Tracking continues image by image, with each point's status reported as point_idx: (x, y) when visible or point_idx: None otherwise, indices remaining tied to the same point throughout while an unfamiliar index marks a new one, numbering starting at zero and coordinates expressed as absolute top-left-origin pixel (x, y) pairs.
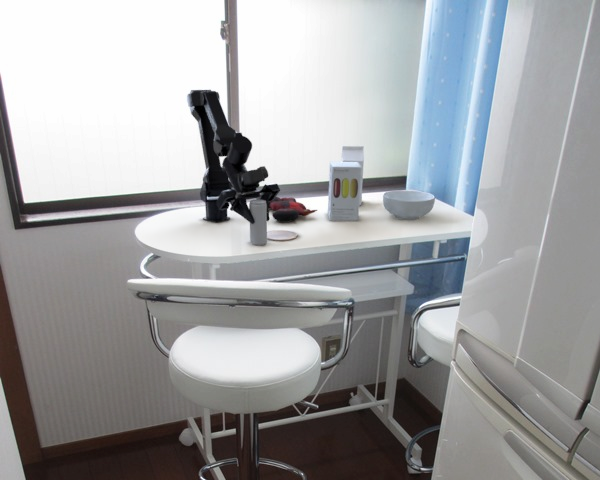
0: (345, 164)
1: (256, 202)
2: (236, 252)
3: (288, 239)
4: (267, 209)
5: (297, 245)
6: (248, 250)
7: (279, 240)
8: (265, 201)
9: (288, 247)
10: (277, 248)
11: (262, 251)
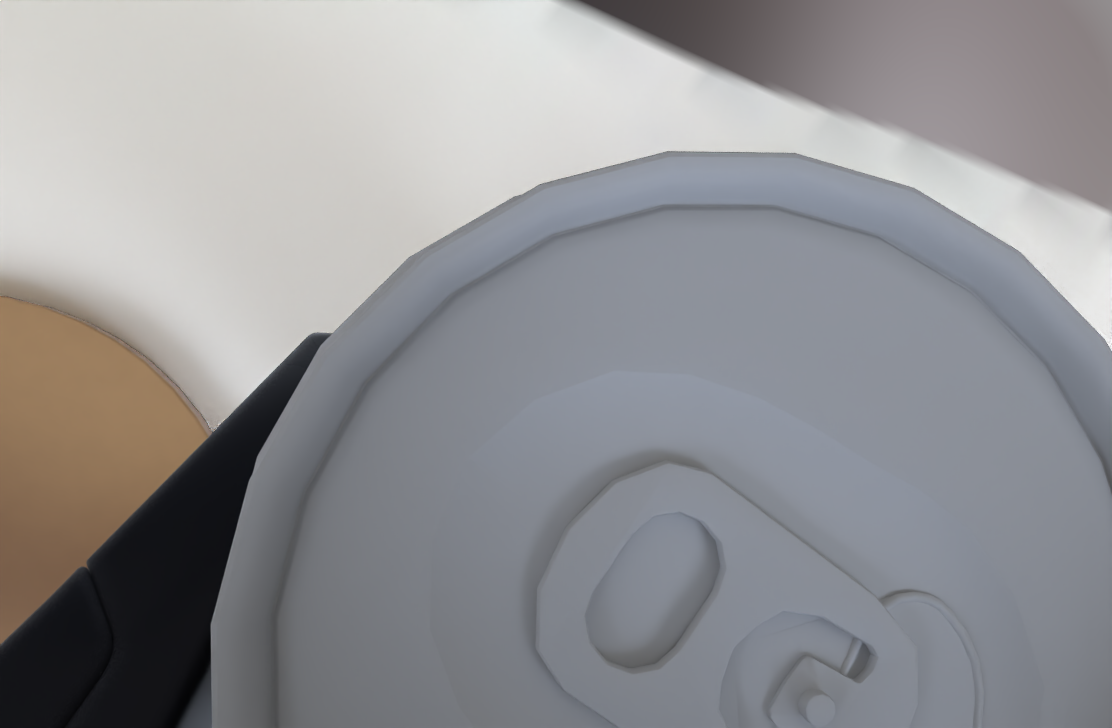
0: None
1: (886, 577)
2: None
3: (10, 298)
4: (181, 523)
5: (97, 5)
6: None
7: (158, 370)
8: (354, 366)
9: (283, 23)
10: (446, 96)
11: (701, 130)
